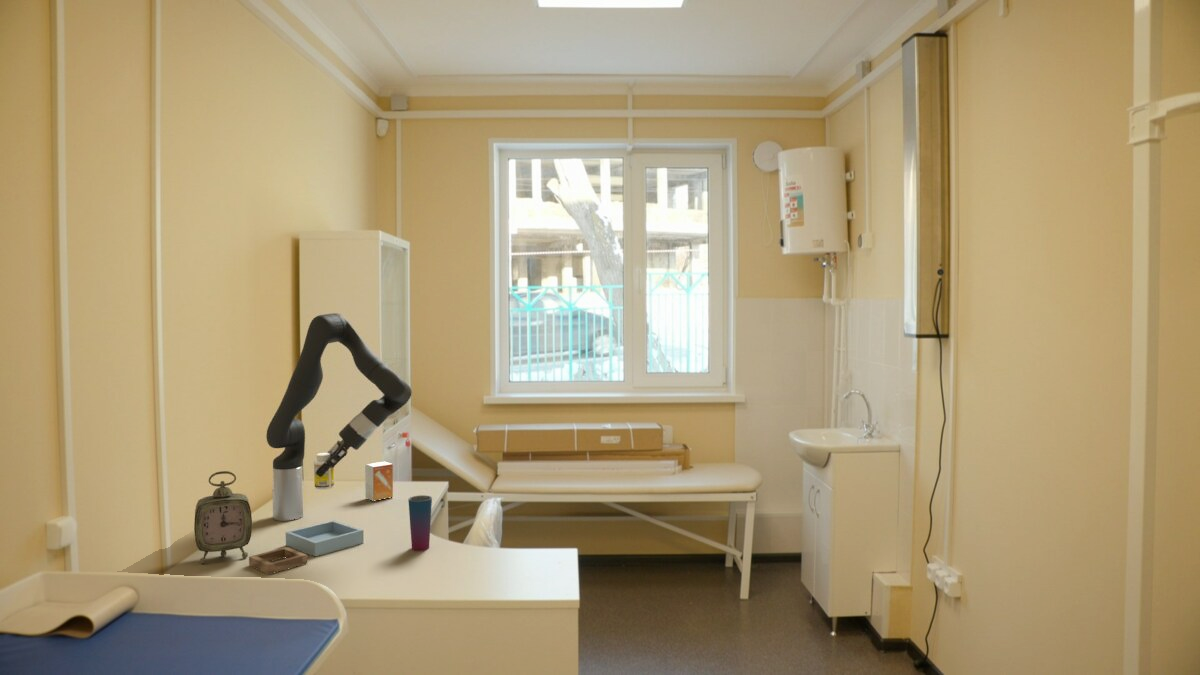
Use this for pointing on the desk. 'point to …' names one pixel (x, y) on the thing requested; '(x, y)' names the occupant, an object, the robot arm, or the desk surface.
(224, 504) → the tabletop clock
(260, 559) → the holder
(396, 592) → the desk surface
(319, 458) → the supplement bottle
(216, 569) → the desk surface
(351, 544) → the tray
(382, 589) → the desk surface
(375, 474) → the small box
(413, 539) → the cup
